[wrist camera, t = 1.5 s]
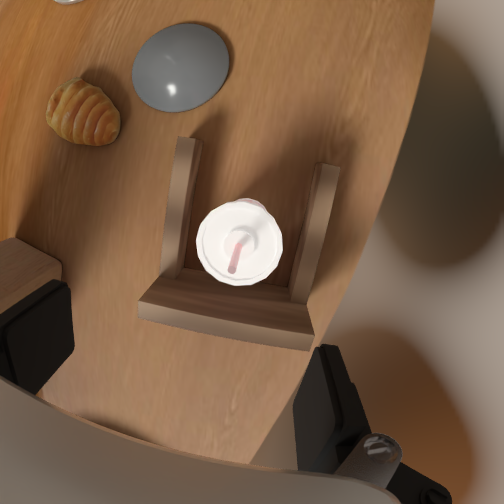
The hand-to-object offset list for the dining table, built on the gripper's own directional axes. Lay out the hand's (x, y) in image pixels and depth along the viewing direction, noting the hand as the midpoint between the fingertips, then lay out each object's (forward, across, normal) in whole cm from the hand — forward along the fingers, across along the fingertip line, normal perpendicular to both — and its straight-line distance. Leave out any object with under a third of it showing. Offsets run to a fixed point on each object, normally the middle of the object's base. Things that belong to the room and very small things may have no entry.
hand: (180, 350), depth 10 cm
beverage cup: (+21, -1, -1) cm, 21 cm away
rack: (+21, -1, -1) cm, 21 cm away
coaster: (+21, +9, -15) cm, 27 cm away
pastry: (+21, +19, -10) cm, 30 cm away
